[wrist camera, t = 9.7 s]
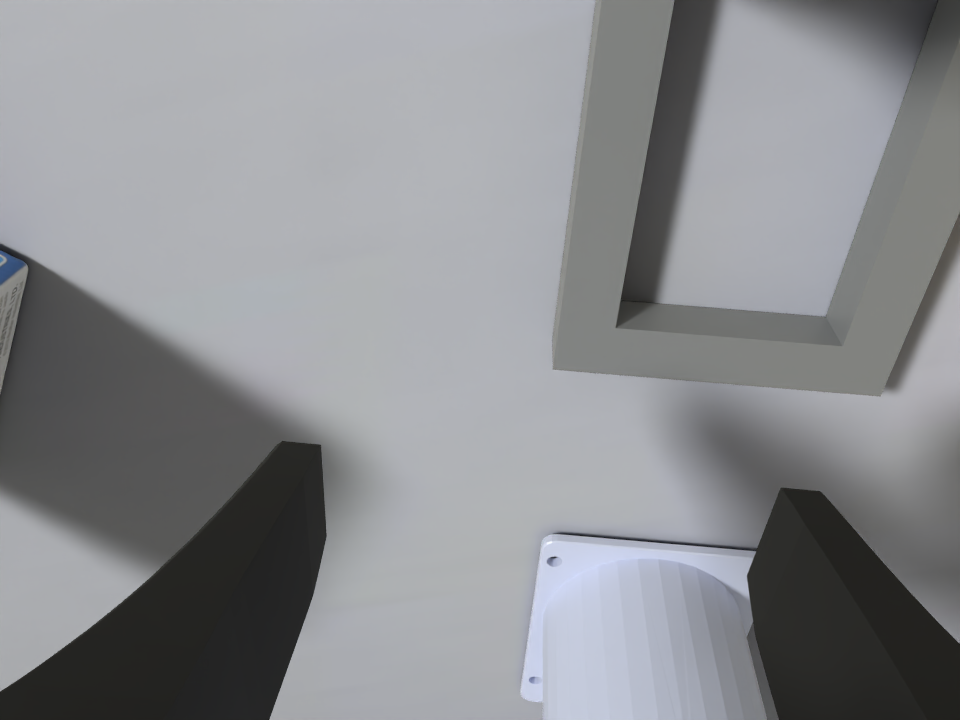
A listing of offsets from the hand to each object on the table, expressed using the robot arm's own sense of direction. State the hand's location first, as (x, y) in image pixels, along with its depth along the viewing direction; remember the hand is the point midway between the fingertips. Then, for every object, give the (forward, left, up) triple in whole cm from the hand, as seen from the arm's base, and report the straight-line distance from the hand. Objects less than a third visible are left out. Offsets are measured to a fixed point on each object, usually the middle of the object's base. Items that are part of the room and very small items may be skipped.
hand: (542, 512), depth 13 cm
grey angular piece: (+3, -5, -10) cm, 12 cm away
